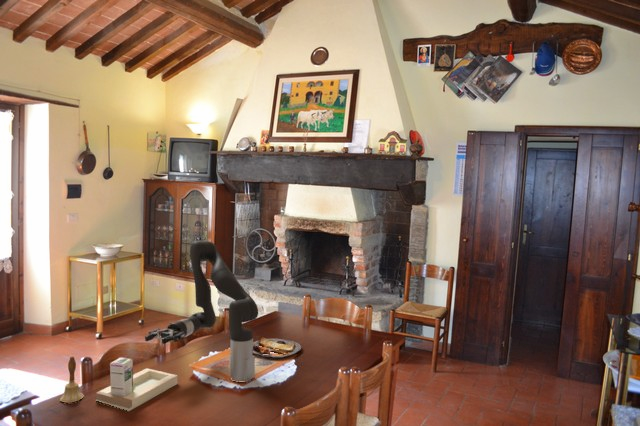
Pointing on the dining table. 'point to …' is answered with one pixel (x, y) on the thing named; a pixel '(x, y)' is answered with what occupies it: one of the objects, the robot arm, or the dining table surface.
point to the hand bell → (71, 385)
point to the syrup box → (121, 377)
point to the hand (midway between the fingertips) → (154, 340)
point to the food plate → (275, 343)
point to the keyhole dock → (139, 389)
